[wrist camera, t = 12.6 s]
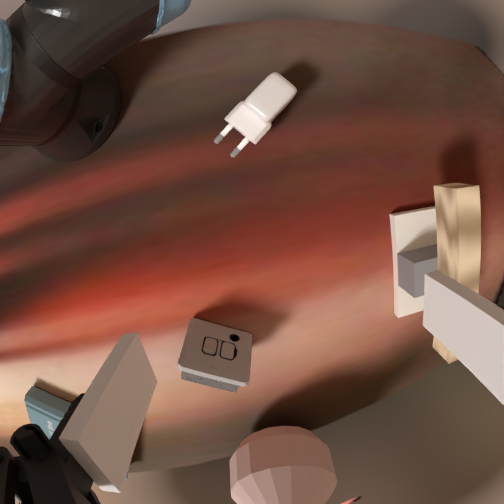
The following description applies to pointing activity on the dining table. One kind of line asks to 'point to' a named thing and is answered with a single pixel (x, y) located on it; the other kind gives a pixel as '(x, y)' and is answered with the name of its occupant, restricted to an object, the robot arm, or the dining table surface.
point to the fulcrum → (412, 257)
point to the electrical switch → (216, 355)
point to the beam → (458, 239)
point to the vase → (282, 468)
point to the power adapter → (259, 110)
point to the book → (46, 410)
